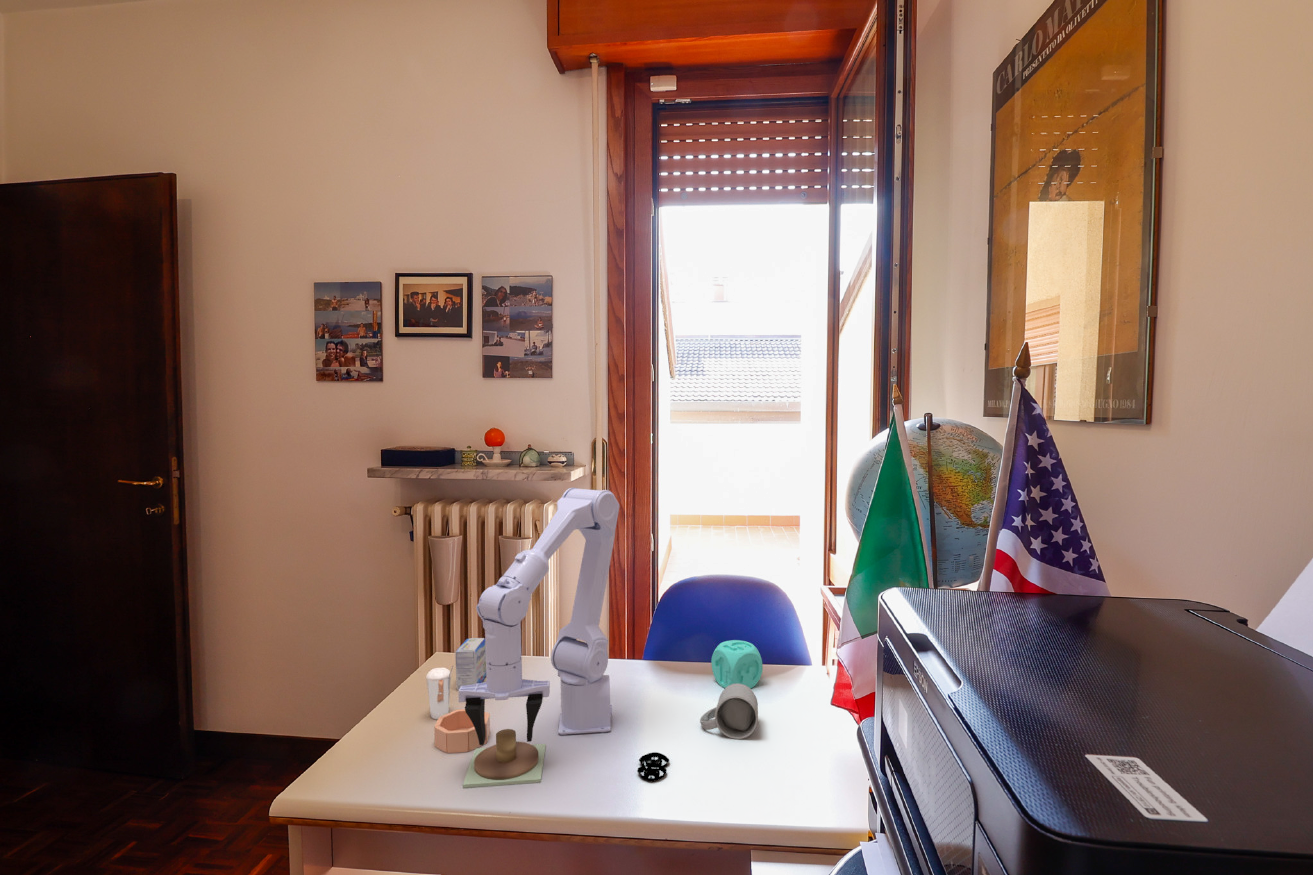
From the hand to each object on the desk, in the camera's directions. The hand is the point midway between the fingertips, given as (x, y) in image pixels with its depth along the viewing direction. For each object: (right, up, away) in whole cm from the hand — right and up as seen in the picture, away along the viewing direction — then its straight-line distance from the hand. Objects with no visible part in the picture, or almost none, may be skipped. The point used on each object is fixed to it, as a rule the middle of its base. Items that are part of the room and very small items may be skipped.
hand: (506, 740), depth 106 cm
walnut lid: (0, -4, 0) cm, 4 cm away
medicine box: (-15, -4, +34) cm, 37 cm away
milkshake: (-17, -4, +19) cm, 25 cm away
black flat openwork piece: (+24, -5, -1) cm, 25 cm away
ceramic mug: (+38, -4, +12) cm, 40 cm away
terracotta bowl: (-10, -4, +9) cm, 14 cm away
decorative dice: (+42, -3, +31) cm, 53 cm away
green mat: (0, -4, 0) cm, 4 cm away
